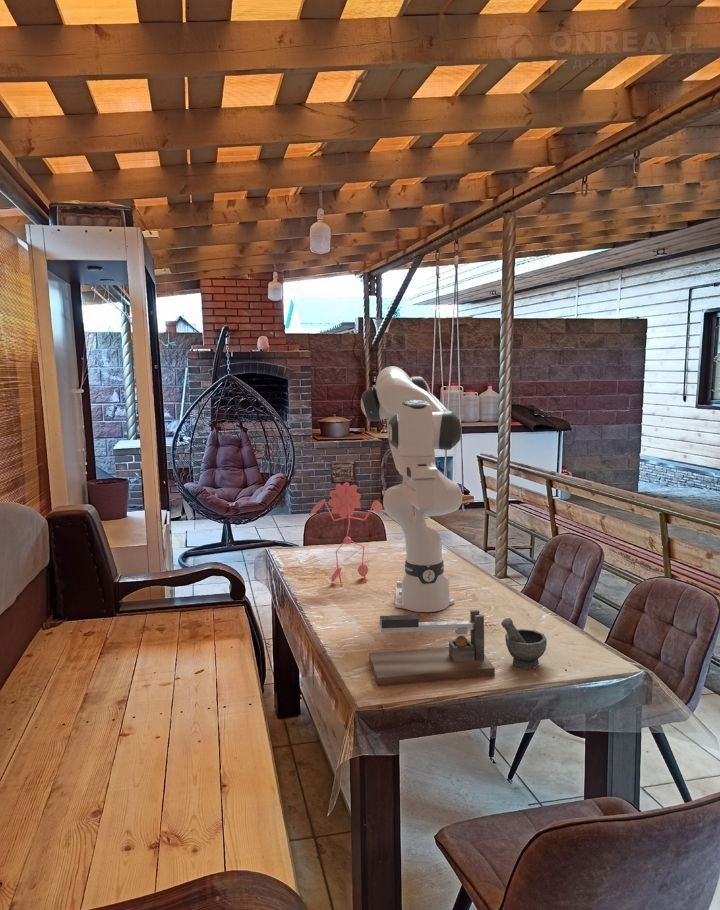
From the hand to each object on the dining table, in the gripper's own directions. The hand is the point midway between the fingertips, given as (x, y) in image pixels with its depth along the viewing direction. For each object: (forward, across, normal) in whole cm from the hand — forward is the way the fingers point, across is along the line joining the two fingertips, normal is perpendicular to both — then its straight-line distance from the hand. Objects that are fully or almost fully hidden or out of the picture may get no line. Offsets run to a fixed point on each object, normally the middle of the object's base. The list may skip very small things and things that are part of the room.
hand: (418, 522), depth 161 cm
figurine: (+35, -70, -11) cm, 79 cm away
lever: (+26, +6, +1) cm, 27 cm away
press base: (+35, +6, +1) cm, 36 cm away
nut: (+29, +6, +9) cm, 31 cm away
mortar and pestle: (+35, +8, +24) cm, 43 cm away
